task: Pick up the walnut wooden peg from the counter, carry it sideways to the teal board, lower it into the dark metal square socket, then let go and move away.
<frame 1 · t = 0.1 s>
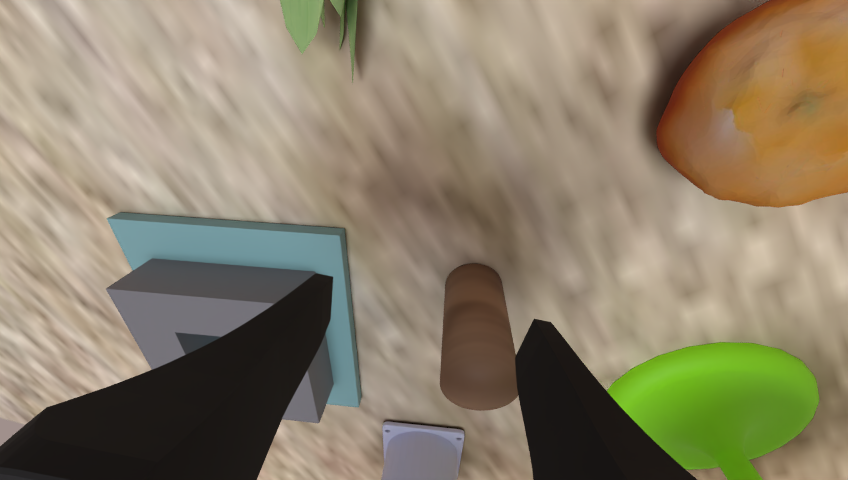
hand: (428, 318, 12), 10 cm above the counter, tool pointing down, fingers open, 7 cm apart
peg: (473, 286, 23), on the counter
wineglass: (696, 408, 28), on the counter
socket board: (258, 318, 27), on the counter
fruit: (722, 94, 16), on the counter
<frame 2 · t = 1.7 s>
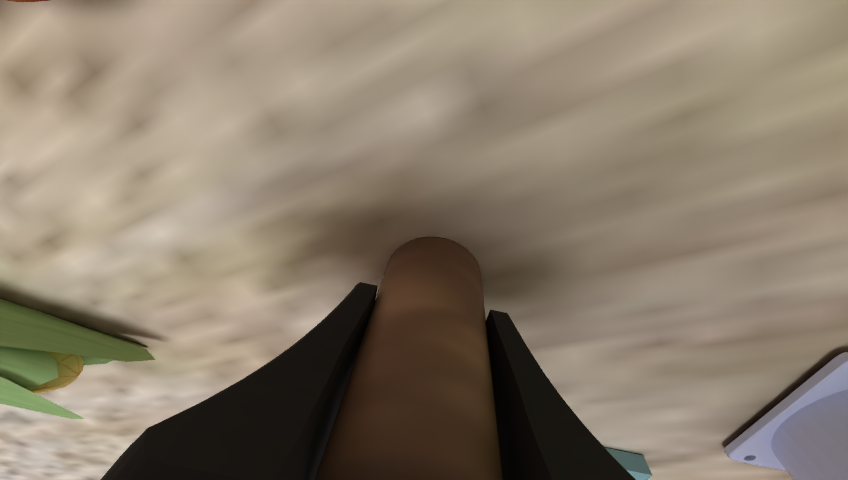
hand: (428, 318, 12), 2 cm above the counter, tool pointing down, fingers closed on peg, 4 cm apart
peg: (432, 278, 14), on the counter, touching gripper
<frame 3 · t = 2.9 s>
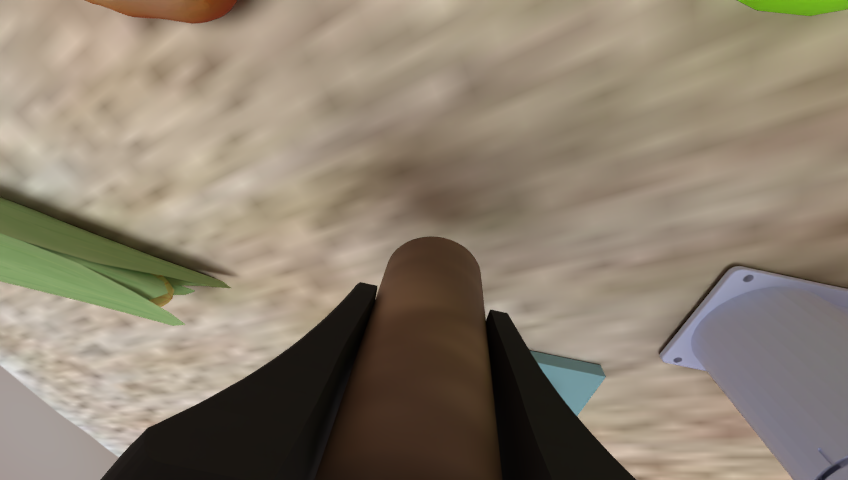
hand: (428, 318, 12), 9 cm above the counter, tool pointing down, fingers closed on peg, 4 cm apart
peg: (432, 278, 14), point 6 cm above the counter, touching gripper
edible corn: (101, 241, 23), on the counter
socket board: (454, 405, 28), on the counter
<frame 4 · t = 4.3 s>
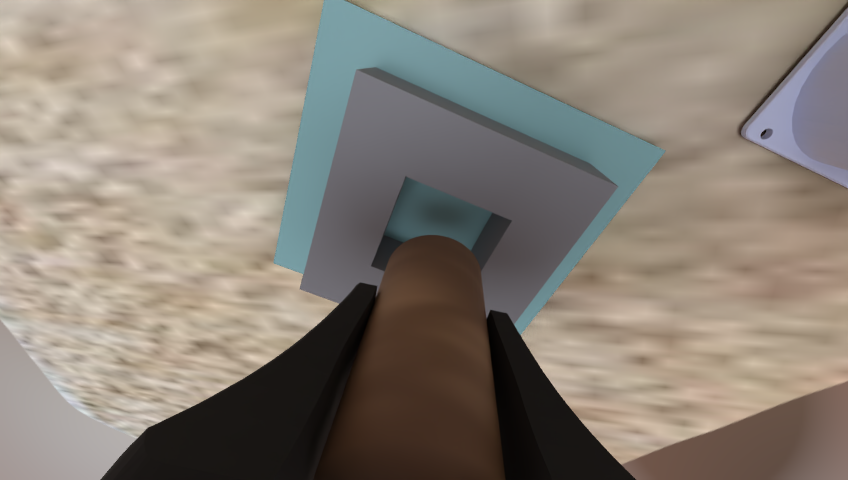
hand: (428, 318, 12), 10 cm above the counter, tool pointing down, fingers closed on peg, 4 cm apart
peg: (433, 276, 14), point 7 cm above the counter, touching gripper
socket board: (441, 208, 20), on the counter
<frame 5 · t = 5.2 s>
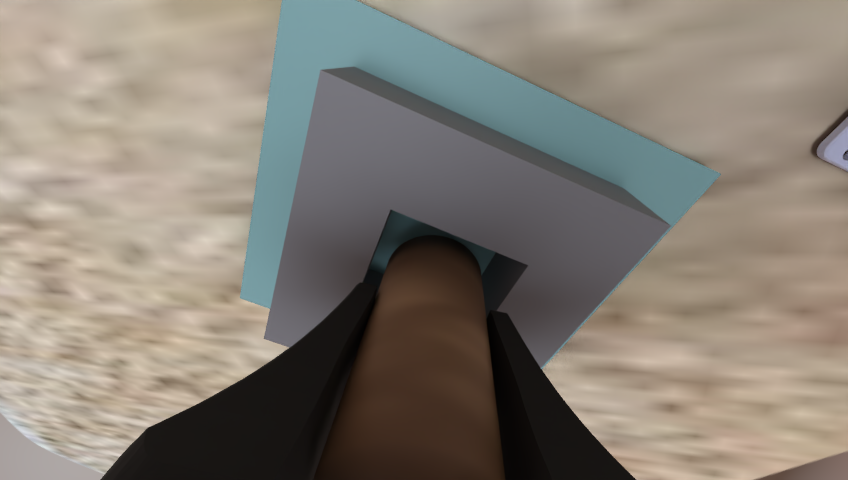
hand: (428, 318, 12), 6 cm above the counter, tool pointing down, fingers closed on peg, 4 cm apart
peg: (433, 277, 14), point 4 cm above the counter, touching gripper
socket board: (438, 237, 17), on the counter
when the fingers open (5 cm above the counter, at t = 5.9 s): peg drops 2 cm, resting on socket board.
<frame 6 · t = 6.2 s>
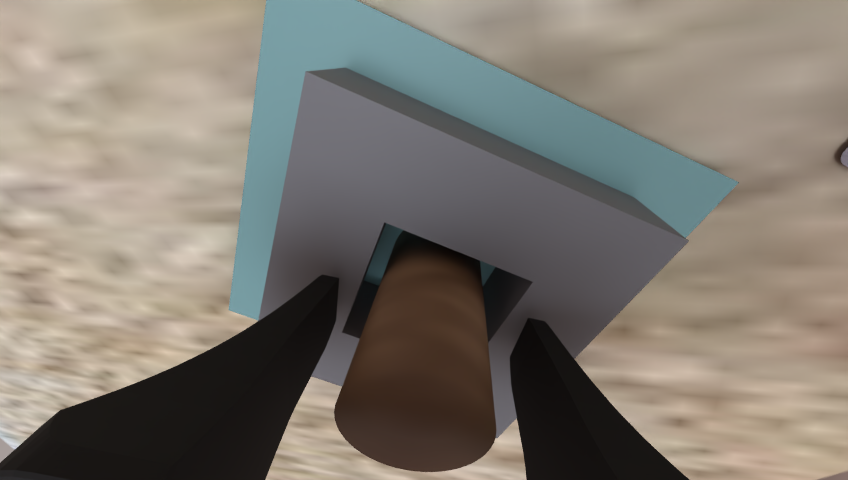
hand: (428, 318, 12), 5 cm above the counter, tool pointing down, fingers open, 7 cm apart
peg: (435, 257, 15), point 1 cm above the counter, touching socket board
socket board: (436, 247, 16), on the counter
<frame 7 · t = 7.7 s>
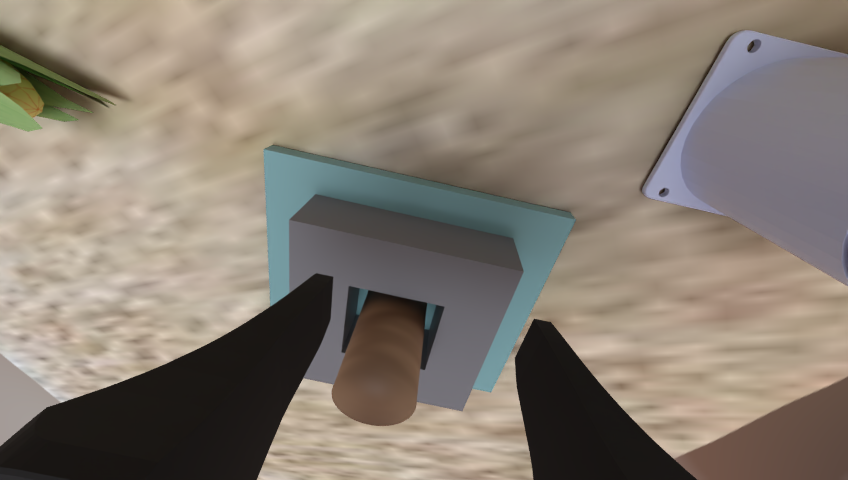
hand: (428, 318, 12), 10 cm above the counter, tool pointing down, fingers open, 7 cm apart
peg: (398, 293, 22), point 1 cm above the counter, touching socket board
socket board: (400, 284, 23), on the counter
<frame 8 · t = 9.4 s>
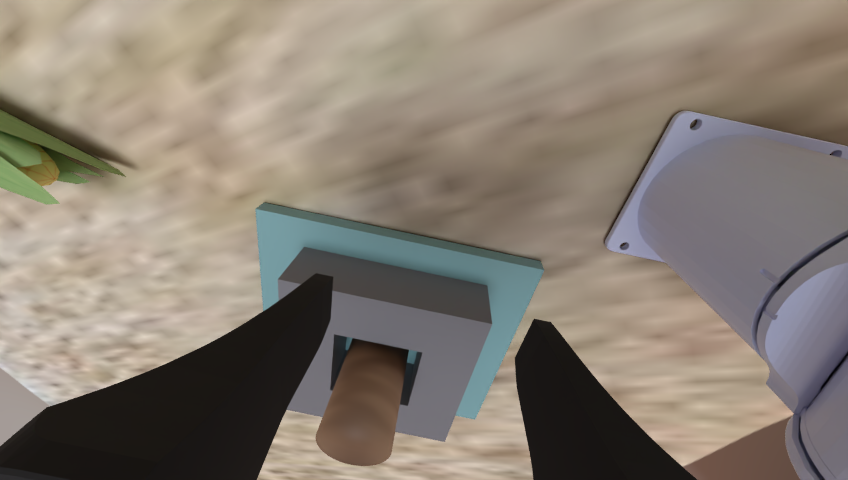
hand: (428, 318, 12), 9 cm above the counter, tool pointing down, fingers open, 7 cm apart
peg: (384, 331, 24), point 1 cm above the counter, touching socket board
socket board: (386, 322, 25), on the counter
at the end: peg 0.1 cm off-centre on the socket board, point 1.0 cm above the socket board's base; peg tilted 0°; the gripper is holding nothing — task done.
